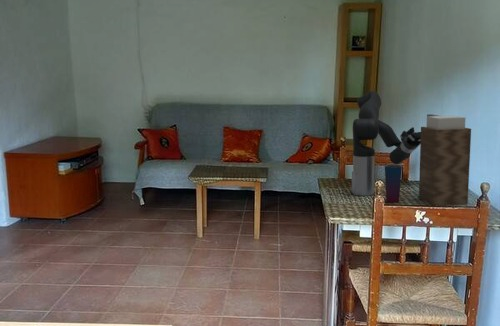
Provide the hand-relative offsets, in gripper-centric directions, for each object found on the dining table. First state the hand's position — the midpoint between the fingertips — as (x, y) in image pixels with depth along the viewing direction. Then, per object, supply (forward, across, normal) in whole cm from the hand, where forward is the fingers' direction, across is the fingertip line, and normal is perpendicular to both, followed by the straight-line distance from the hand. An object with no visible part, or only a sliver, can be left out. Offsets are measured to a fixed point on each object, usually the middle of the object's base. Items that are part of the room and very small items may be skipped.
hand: (422, 128), depth 208 cm
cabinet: (+5, 0, +35) cm, 35 cm away
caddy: (+15, 0, +8) cm, 17 cm away
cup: (+4, -20, +34) cm, 40 cm away
